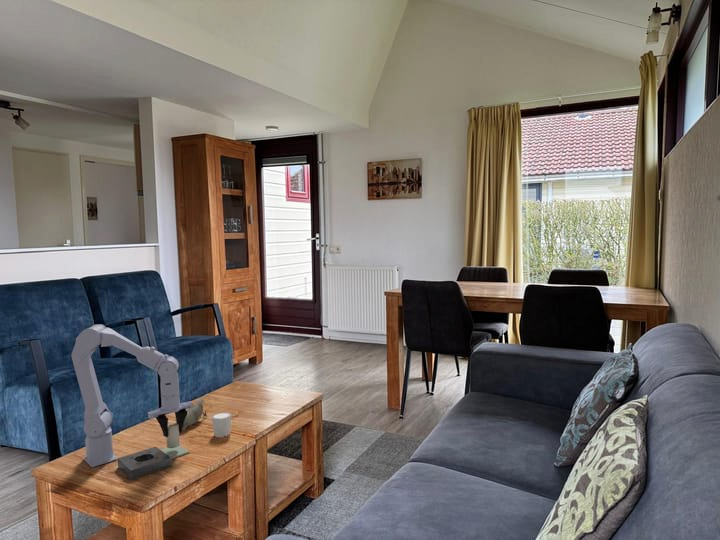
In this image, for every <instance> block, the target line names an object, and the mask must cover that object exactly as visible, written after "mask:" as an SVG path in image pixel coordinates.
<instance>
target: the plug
mask: <svg viewBox="0 0 720 540" xmlns="http://www.w3.org/2000/svg"><path fill="white" fill-rule="evenodd" d="M165 438H166V439H165V440H166V448H176V447H178V446H179V445H180V443H181V442H180V433H179V424H178V423H176V422H172V423H168V437H165ZM180 446H181V445H180Z"/></svg>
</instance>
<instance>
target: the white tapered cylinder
mask: <svg viewBox="0 0 720 540" xmlns="http://www.w3.org/2000/svg"><path fill="white" fill-rule="evenodd" d="M231 421H232V414H231V413H229V412H218V413H214V414H212V415H211V422H212V423H211V424H212V428H213V429H212V430H213V435H215V436H216V437H215V436H214V437H215V438H225V437H224V436H226V437H228V436H229V434H230V435H231V428H232V427H231V426H232V425H231V424H232V423H231ZM227 435H228V436H227Z"/></svg>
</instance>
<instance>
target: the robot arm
mask: <svg viewBox="0 0 720 540" xmlns="http://www.w3.org/2000/svg"><path fill="white" fill-rule="evenodd" d="M99 346H100V347H101V348H102V347H111V346H113V347H115V348H117V349H120V350H122V351H124V352H126V353H129V355H130V354H131V355H132V356H135V357H136V359H137V362H138V363H140V364H142V365H144V366H146V367H147V368H149V369H151V370H154V372H155V371H157V374H158V375H159V379H160V382H159V383H160V398H161V406H160V408H156V409H155V410H154V409H153V410H151V411H148V412H147V418H148V419H149V420H154V419H156V421H157V422H158V424H159V425H160V428H161V432H162V435H163V436H164V437H165V438H166V437H168V424H169V418H168V417H167V415H169V414H172V413H174V416H175V423H178V424H179V434H181V433H183V432H182V427H183V423H184V420H185V418H186V416H187V410H188V409H189V408H190V409H191V408H193V405H194V402H193V401H183V402H181V398H180V382H179V380H180V379H179V373H178V371H179V367H180V363H179V360H178V359H176V357H174V356H173V355H172V356H171V355H168V354H166V353H165V354H164V353H162V352H160V351H158V350H156V347H155V346H151V347H150V346H140V345H138V343H135V342H134V341H132V340H130V339H128V338H127V337H125V336H124V335H122V334H120V333H118V332H117V331H115V330H114V329H113V328H110V327H106V326H105V325H104V324H101V323H100V324H99V323H98V324H94V325H93V324H92V326H90V327H88V328H85V329H84V330H82V331H81V332H80V333H79V334H78V336H76V337H75V343H74V346H73V349H72V352H71V359H72V364H73V368H74V371H75V376H76V379H77V382H78V386H79V389H80V393H81V397H82V402H83V403H84V408H85V409H84V414H83V419H84V425H83V432H84V434H86V437H85V439H84V443H85V444H84V445H85V456H84V457H82V459H83V460H84V461H85V462H86V464H88V465H89V467H91V468H95V467H98V466H101V465H103V464H104V465H105V464H107V463H111V462H113V461H118V458H119V457H117V456H116V455H115V454H114V445H113V444H114V443H113V432H112V431H113V430H112V427H111V424H112V422H113V421H114V420H113V419H114V416H113V413H112V412H111V410H110V409H108V405H107V404H106V402H104V401H103V397H102V394H101V393H102V392H101V389H100V386H99V383H98V378H97V374H96V371H95V368H94V363H93V359H92V355H93V354H94V352H95V351H96V349H97V348H98V347H99Z"/></svg>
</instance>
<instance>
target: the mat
mask: <svg viewBox="0 0 720 540" xmlns="http://www.w3.org/2000/svg"><path fill="white" fill-rule="evenodd" d="M159 449H160V450H161V451H163V452H164V453H165V454H167V455H168V456H170V457H171V460H172V459H176V458H179V457H181V456H184V455H187V454H190V453H191V452H190V451H189V450H188V449H186V447H183V446H182V445H179V446H178V447H176V448H167V447H164V448H162V449H161V448H159Z"/></svg>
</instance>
